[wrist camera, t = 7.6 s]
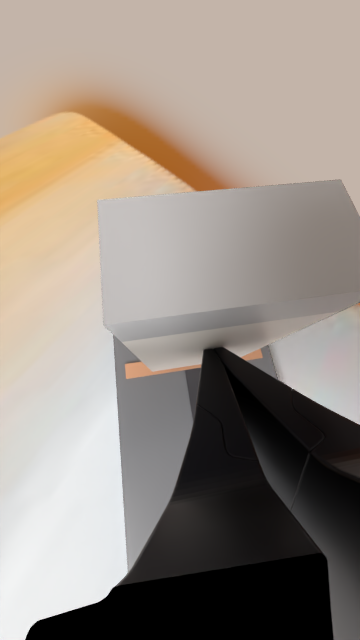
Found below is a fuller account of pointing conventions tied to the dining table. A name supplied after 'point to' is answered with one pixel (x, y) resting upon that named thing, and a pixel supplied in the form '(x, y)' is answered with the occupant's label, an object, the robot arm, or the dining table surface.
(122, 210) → the fader handle
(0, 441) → the dining table surface
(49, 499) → the dining table surface
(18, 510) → the dining table surface
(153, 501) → the fader console
